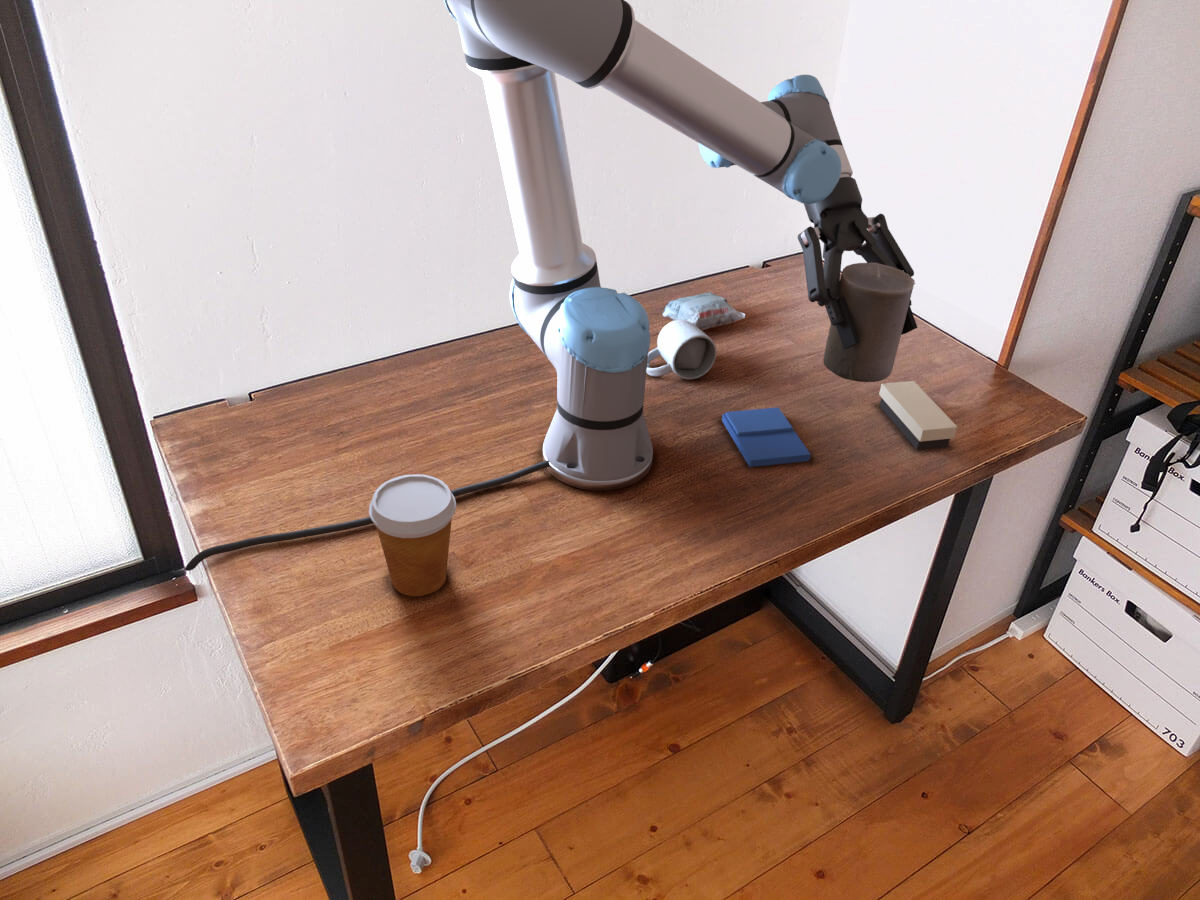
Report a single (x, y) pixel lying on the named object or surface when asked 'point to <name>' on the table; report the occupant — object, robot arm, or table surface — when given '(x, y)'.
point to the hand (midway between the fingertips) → (881, 338)
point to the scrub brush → (916, 415)
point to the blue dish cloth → (765, 437)
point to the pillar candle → (870, 321)
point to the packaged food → (703, 311)
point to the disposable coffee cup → (414, 531)
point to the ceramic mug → (683, 351)
